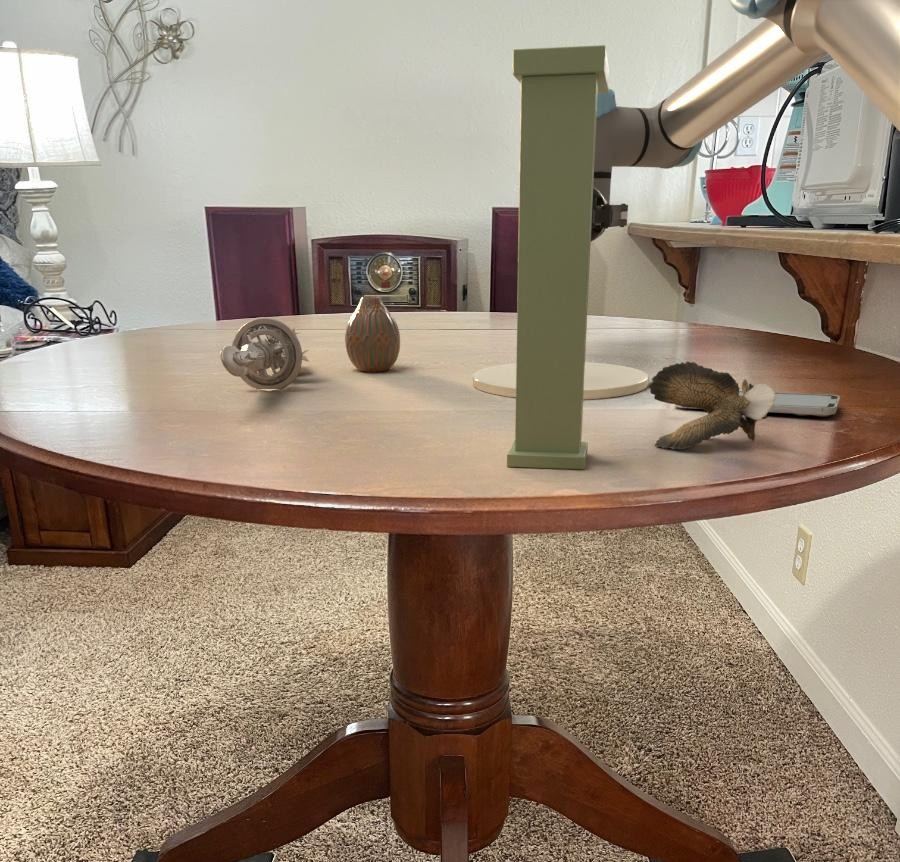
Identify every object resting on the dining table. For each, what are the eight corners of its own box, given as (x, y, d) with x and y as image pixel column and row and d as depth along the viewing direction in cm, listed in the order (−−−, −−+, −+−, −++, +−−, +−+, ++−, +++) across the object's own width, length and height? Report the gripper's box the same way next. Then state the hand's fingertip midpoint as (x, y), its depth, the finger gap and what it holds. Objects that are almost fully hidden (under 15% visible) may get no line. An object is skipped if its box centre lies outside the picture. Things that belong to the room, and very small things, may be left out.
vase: (380, 375, 109) (376, 300, 105) (335, 371, 112) (331, 298, 109) (411, 367, 114) (409, 295, 111) (368, 363, 117) (364, 294, 114)
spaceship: (167, 338, 81) (244, 303, 80) (254, 332, 115) (309, 307, 114) (207, 419, 84) (282, 386, 82) (281, 390, 117) (336, 366, 116)
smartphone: (687, 388, 94) (840, 394, 88) (686, 397, 94) (839, 404, 88) (672, 400, 88) (835, 408, 82) (671, 410, 88) (834, 418, 82)
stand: (524, 431, 80) (531, 74, 69) (591, 433, 79) (609, 71, 68) (506, 466, 69) (512, 47, 58) (584, 469, 68) (605, 43, 57)
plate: (660, 373, 108) (660, 365, 107) (630, 404, 90) (631, 394, 90) (502, 366, 114) (503, 358, 114) (447, 394, 97) (447, 385, 97)
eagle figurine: (722, 413, 80) (634, 401, 78) (766, 352, 75) (672, 336, 72) (748, 476, 76) (656, 465, 74) (797, 416, 71) (699, 402, 68)
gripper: (633, 245, 119) (634, 253, 98) (522, 245, 121) (498, 253, 100) (638, 183, 116) (639, 177, 95) (523, 185, 118) (499, 180, 97)
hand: (566, 216), depth 98 cm, fingers closed on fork, 2 cm apart
